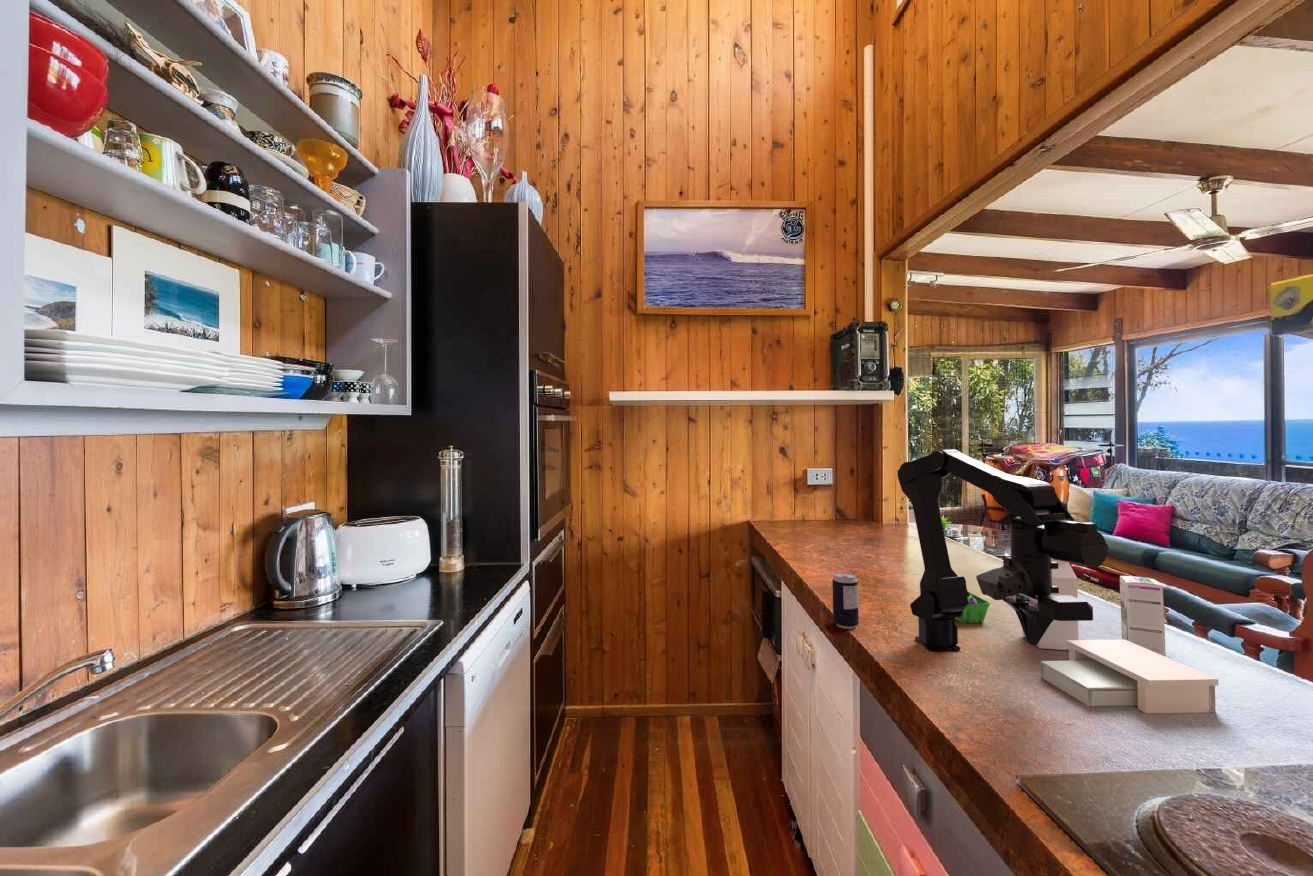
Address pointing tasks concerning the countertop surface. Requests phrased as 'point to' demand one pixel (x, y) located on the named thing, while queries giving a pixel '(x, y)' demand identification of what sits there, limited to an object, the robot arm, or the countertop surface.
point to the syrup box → (1142, 612)
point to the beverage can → (845, 600)
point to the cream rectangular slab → (1091, 682)
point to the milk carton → (1061, 629)
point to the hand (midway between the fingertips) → (1032, 644)
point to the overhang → (1152, 676)
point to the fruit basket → (974, 609)
